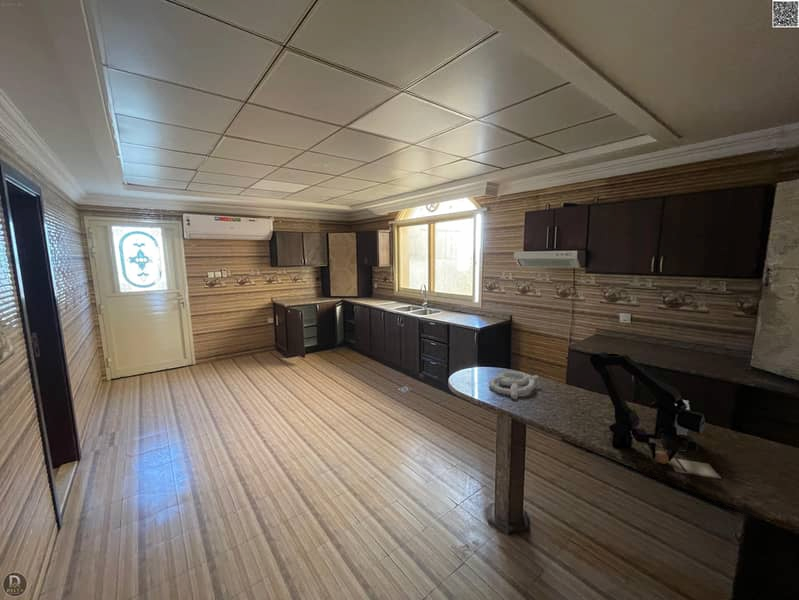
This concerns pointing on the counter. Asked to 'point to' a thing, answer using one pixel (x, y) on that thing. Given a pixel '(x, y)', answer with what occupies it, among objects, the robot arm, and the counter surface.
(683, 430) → the candy box
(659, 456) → the ball
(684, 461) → the board
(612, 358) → the robot arm
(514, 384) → the pretzel
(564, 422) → the counter surface
